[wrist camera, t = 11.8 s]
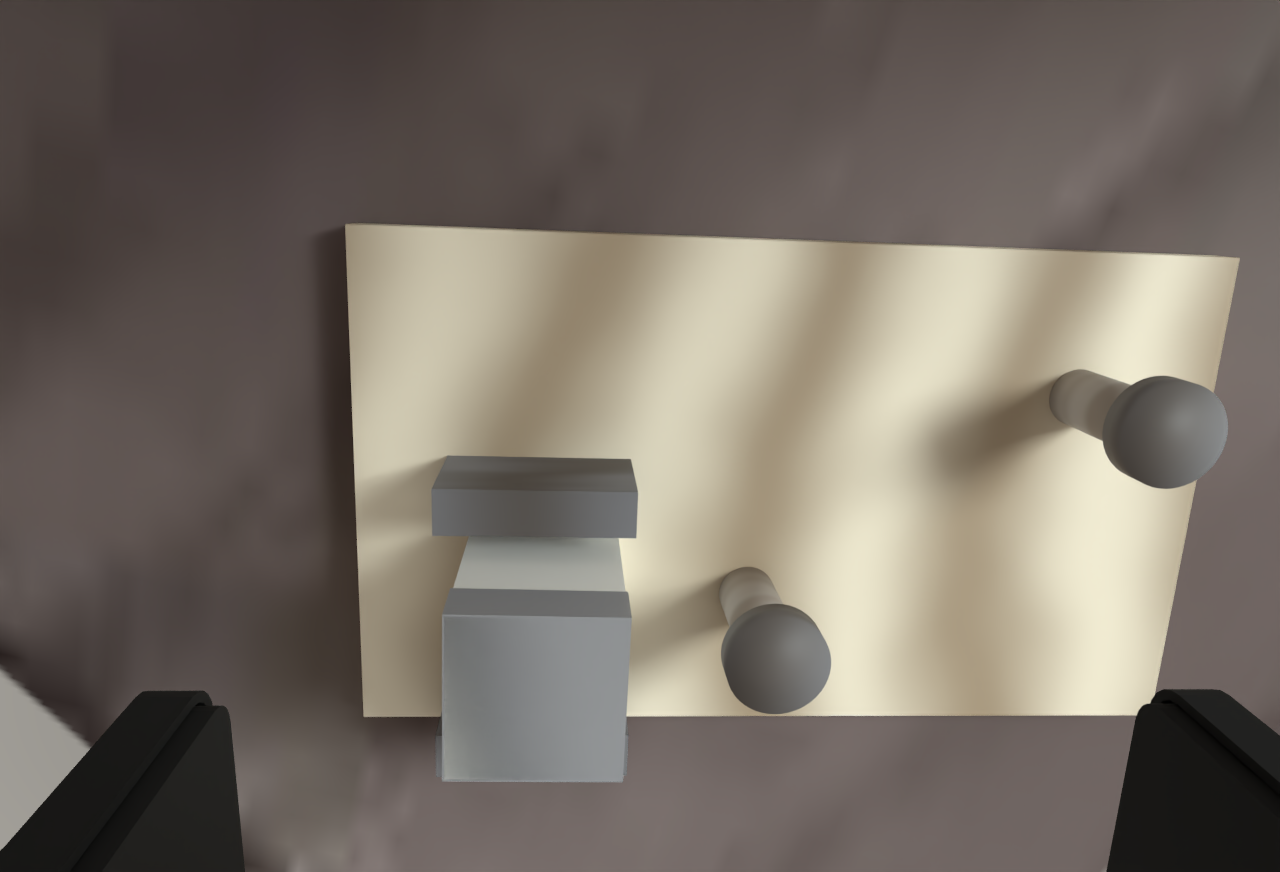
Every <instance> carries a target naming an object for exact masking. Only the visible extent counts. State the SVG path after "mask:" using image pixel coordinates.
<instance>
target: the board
mask: <svg viewBox="0 0 1280 872" xmlns="http://www.w3.org/2000/svg"><path fill="white" fill-rule="evenodd" d="M345 234H346V261H347V287H348V314H349V340H350V367H351V394H352V420H353V447H354V474H355V500H356V527H357V554H358V580H359V607H360V633H361V660H362V687H363V713H364V717H440V720H439V724H438V728H437V732H436V736H435V741H436V777H442V613H443V610H444V607H445V603H446V600H447V597H448V594H449V591H450V588H453V587H454V583H455V580H456V577H457V574H458V570H459V567H460V564H461V560H462V557H463V554H464V551H465V547H466V544H467V541H468V538H469V536H484V537H564V538H619V546H620V553H621V561H622V568H623V576H624V583H625V591H626V592H628V594H629V602H630V609H631V616H632V623H631V641H630V660H629V678H628V696H627V714H626V716H974V715H1137V713H1138V711H1139V709H1140V708H1141V707H1142V706H1143V705H1145V704H1150V703H1151V700H1152V698H1153V697H1154V695H1155V690H1156V685H1157V680H1158V675H1159V670H1160V665H1161V659H1162V654H1163V649H1164V644H1165V639H1166V634H1167V629H1168V624H1169V618H1170V613H1171V608H1172V603H1173V598H1174V593H1175V588H1176V583H1177V577H1178V572H1179V567H1180V562H1181V557H1182V552H1183V547H1184V542H1185V536H1186V531H1187V526H1188V521H1189V516H1190V511H1191V506H1192V501H1193V495H1194V490H1195V485H1196V480H1197V479H1199V478H1200V477H1201V476H1203V475H1204V474H1205V473H1206V472H1207V471H1208V470H1210V468H1211V467H1212V466H1213V465H1214V464H1215V462H1216V461H1217V460H1218V458H1219V456H1220V455H1221V453H1222V451H1223V448H1224V446H1225V443H1226V439H1227V433H1228V421H1227V415H1226V411H1225V409H1224V407H1223V404H1222V403H1221V401H1220V400H1219V398H1218V397H1217V396H1216V395H1215V394H1214V388H1215V383H1216V378H1217V372H1218V367H1219V362H1220V357H1221V352H1222V347H1223V342H1224V337H1225V331H1226V326H1227V321H1228V316H1229V311H1230V306H1231V301H1232V296H1233V290H1234V285H1235V280H1236V275H1237V270H1238V265H1239V260H1240V258H1235V257H1224V256H1213V255H1191V254H1164V253H1138V252H1112V251H1085V250H1059V249H1032V248H1006V247H980V246H953V245H927V244H901V243H874V242H848V241H821V240H795V239H769V238H742V237H716V236H690V235H663V234H637V233H610V232H584V231H558V230H531V229H505V228H479V227H452V226H426V225H399V224H373V223H350V224H345ZM627 754H628V728H627V718H626V733H625V751H624V769H623V775H627Z"/></svg>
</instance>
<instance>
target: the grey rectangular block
mask: <svg viewBox="0 0 1280 872" xmlns="http://www.w3.org/2000/svg"><path fill="white" fill-rule="evenodd" d="M631 623H632V616H631V609H630V602H629V594H628V592H626V591H625V583H624V576H623V568H622V561H621V553H620V546H619V538H564V537H484V536H469V538H468V541H467V544H466V547H465V551H464V554H463V557H462V560H461V564H460V567H459V570H458V574H457V577H456V580H455V583H454V587H453V588H450V591H449V594H448V597H447V600H446V603H445V607H444V610H443V613H442V781H458V782H623V769H624V751H625V733H626V714H627V696H628V678H629V660H630V641H631Z"/></svg>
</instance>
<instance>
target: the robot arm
mask: <svg viewBox="0 0 1280 872" xmlns="http://www.w3.org/2000/svg"><path fill="white" fill-rule="evenodd" d="M0 872H245V868H244V857H243V847H242V836H241V826H240V816H239V805H238V795H237V784H236V774H235V764H234V753H233V743H232V733H231V722H230V716H229V712H228V710H227V708H226V707H224V706H212V701H211V699H210V697H209V695H208V694H207V693H206V692H205V691H145V692H142V693H140V694H139V695H138V696H137V697H136V698H135V699H134V700H133V701H132V702H131V703H130V704H129V706H128V707H127V708H126V709H125V710H124V711H123V712H122V714H121V715H120V716H119V717H118V718H117V719H116V720H115V721H114V723H113V724H112V725H111V726H110V727H109V728H108V729H107V731H106V732H105V733H104V734H103V735H102V736H101V737H100V739H99V740H98V741H97V742H96V743H95V744H94V745H93V747H92V748H91V749H90V750H89V751H88V752H87V753H86V755H85V756H84V757H83V758H82V759H81V760H80V761H79V762H78V764H77V765H76V766H75V767H74V768H73V769H72V770H71V772H70V773H69V774H68V775H67V776H66V777H65V778H64V780H63V781H62V782H61V783H60V784H59V785H58V786H57V788H56V789H55V790H54V791H53V792H52V793H51V794H50V796H49V797H48V798H47V799H46V800H45V801H44V802H43V804H42V805H41V806H40V807H39V808H38V809H37V810H36V811H35V813H34V814H33V815H32V816H31V817H30V818H29V819H28V821H27V822H26V823H25V824H24V825H23V826H22V828H21V829H20V830H19V831H18V832H17V833H16V835H14V837H13V838H12V839H11V840H10V841H9V842H8V844H7V845H6V846H5V847H4V848H3V849H2V850H1V851H0ZM1107 872H1280V736H1279V735H1278V734H1277V733H1276V732H1274V731H1273V730H1272V729H1271V728H1269V727H1268V726H1267V725H1266V724H1264V723H1263V722H1262V721H1261V720H1259V719H1258V718H1257V717H1256V716H1254V715H1253V714H1252V713H1251V712H1249V711H1248V710H1247V709H1246V708H1244V707H1243V706H1242V705H1241V704H1239V703H1238V702H1237V701H1236V700H1234V699H1233V698H1232V697H1231V696H1229V695H1228V694H1226V693H1224V692H1223V691H1221V690H1213V689H1163V690H1161V691H1159V692H1157V693H1156V694H1155V696H1154V697H1153V698H1152V700H1151V703H1150V704H1145V705H1143V706H1142V707H1141V708H1140V709H1139V711H1138V713H1137V716H1136V720H1135V725H1134V730H1133V736H1132V741H1131V746H1130V751H1129V757H1128V762H1127V767H1126V772H1125V778H1124V783H1123V788H1122V793H1121V799H1120V804H1119V809H1118V814H1117V820H1116V825H1115V830H1114V835H1113V840H1112V846H1111V851H1110V856H1109V861H1108V867H1107Z"/></svg>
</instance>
